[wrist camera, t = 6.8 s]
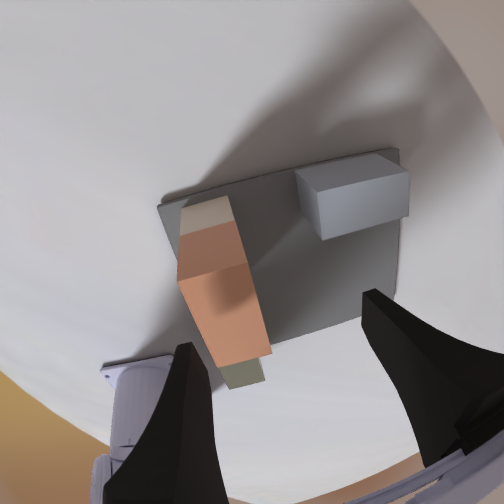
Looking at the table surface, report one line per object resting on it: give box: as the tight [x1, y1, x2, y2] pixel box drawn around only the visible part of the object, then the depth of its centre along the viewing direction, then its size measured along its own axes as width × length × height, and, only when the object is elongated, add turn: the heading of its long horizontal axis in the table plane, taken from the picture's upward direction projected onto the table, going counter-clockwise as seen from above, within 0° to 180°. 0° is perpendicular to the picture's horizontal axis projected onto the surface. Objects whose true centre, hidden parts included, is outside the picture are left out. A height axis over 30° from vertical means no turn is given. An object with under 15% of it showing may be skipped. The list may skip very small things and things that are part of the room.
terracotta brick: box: [177, 220, 272, 368], centre depth 16 cm, size 6×3×4 cm, turn 12°
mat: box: [157, 148, 399, 345], centre depth 24 cm, size 15×17×1 cm
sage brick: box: [218, 357, 265, 390], centre depth 24 cm, size 6×3×4 cm, turn 12°
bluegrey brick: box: [295, 154, 409, 240], centre depth 19 cm, size 6×3×4 cm, turn 102°
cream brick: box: [180, 195, 235, 236], centre depth 19 cm, size 6×3×4 cm, turn 12°
